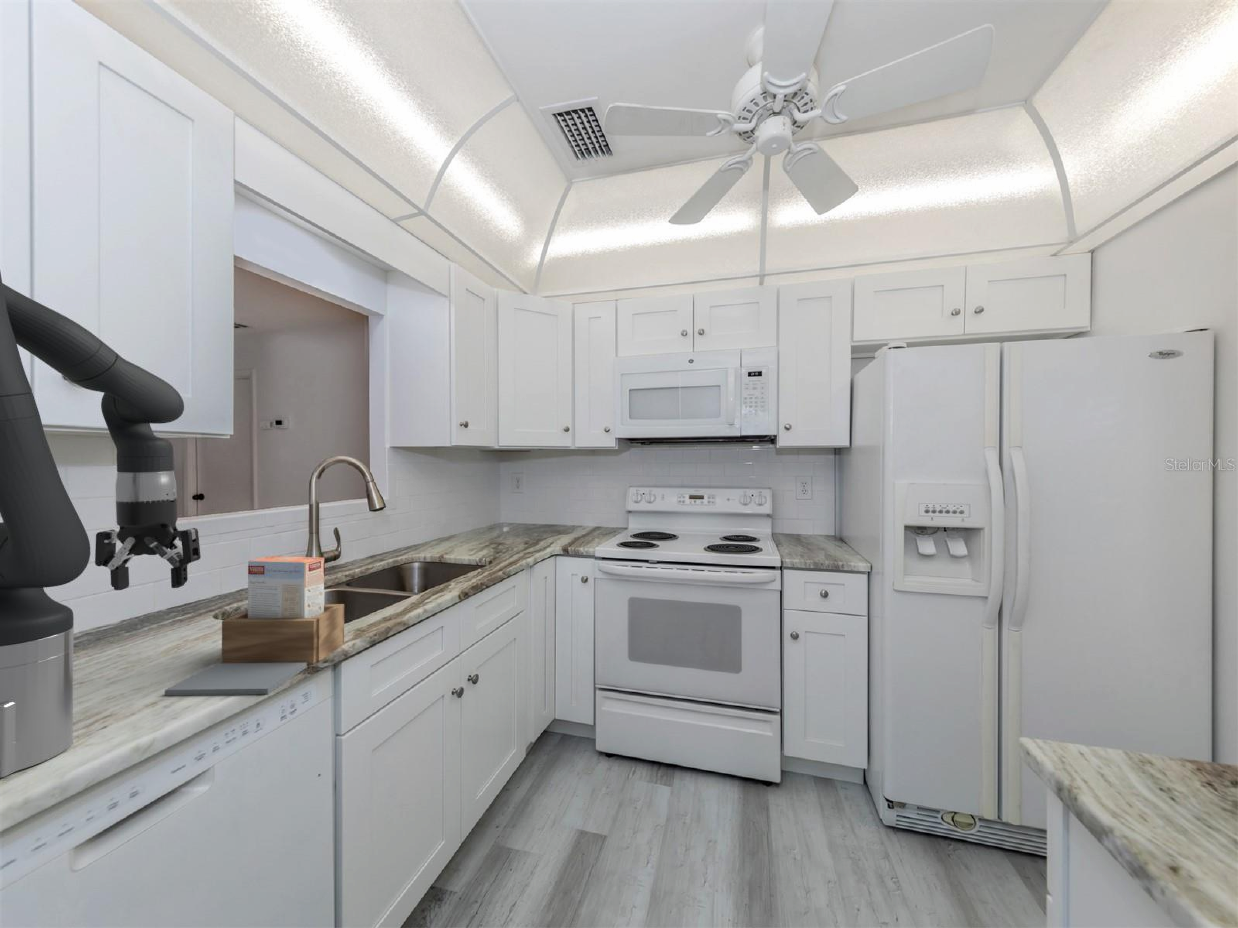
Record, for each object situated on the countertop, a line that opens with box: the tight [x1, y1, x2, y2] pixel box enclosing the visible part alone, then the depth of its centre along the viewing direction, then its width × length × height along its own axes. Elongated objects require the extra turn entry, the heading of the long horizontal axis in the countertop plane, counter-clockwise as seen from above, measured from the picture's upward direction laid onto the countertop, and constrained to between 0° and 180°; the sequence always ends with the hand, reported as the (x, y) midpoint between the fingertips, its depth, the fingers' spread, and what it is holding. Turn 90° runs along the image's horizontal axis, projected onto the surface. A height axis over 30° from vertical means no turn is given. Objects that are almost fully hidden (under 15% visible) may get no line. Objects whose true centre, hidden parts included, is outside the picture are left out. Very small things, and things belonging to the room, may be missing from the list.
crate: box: [221, 603, 345, 665], centre depth 102 cm, size 11×19×9 cm, turn 92°
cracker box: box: [247, 555, 325, 618], centre depth 102 cm, size 14×6×21 cm, turn 81°
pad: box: [164, 662, 308, 696], centre depth 89 cm, size 11×18×1 cm, turn 92°
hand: (150, 588), depth 82 cm, fingers open, 8 cm apart
